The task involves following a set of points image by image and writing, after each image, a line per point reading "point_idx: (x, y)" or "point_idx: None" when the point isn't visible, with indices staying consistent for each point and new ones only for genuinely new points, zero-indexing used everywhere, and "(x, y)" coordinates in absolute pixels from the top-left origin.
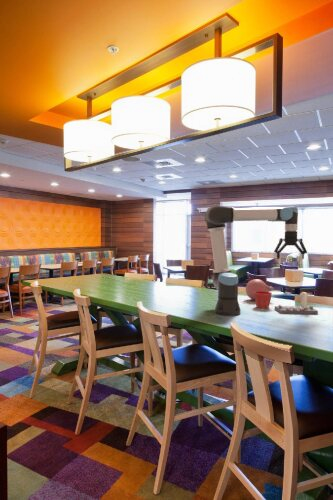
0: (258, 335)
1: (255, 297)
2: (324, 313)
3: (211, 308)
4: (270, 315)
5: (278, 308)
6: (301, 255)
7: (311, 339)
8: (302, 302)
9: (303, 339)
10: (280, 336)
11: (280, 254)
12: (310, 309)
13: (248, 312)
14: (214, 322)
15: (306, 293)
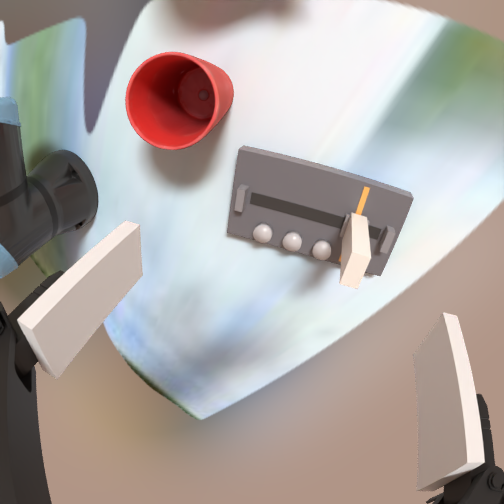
0: (122, 356)
1: (144, 100)
2: (417, 263)
3: (37, 125)
4: (181, 244)
5: (231, 201)
6: (421, 470)
7: (199, 397)
8: (346, 239)
9: (186, 392)
10: (155, 372)
11: (57, 367)
12: (370, 248)
13: (122, 190)
14: (54, 271)
15: (352, 286)
